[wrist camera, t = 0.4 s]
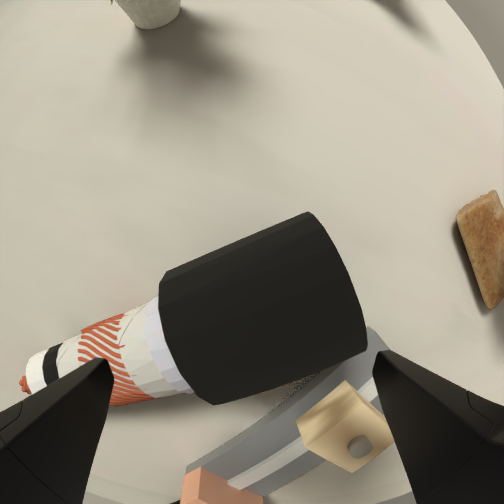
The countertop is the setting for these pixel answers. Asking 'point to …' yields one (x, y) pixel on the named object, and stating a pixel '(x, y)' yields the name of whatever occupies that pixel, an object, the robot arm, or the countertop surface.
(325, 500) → the countertop surface
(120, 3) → the house plant
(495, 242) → the stone cup
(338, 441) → the block
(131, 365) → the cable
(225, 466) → the track
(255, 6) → the countertop surface
